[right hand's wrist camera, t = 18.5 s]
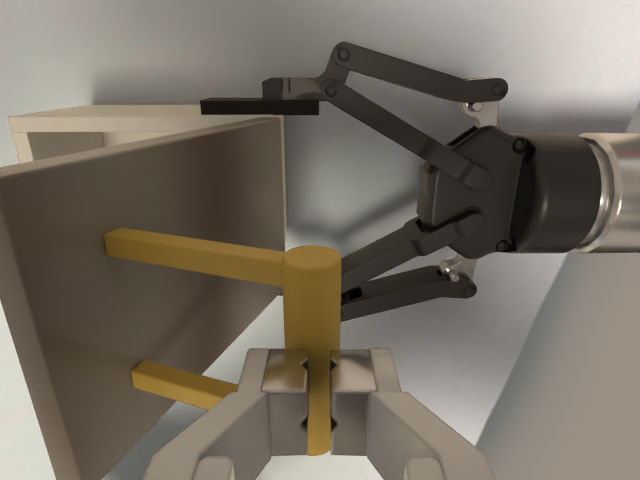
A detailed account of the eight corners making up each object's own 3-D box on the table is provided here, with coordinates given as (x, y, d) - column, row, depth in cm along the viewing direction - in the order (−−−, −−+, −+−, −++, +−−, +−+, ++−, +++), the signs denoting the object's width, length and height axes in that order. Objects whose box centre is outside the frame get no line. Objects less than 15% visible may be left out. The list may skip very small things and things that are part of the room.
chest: (115, 230, 35) (49, 282, 26) (91, 104, 31) (6, 116, 23) (287, 229, 35) (278, 280, 26) (283, 104, 31) (272, 116, 23)
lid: (57, 486, 13) (299, 591, 11) (-41, 174, 10) (289, 213, 7) (269, 283, 26) (404, 307, 23) (261, 116, 22) (419, 122, 20)
